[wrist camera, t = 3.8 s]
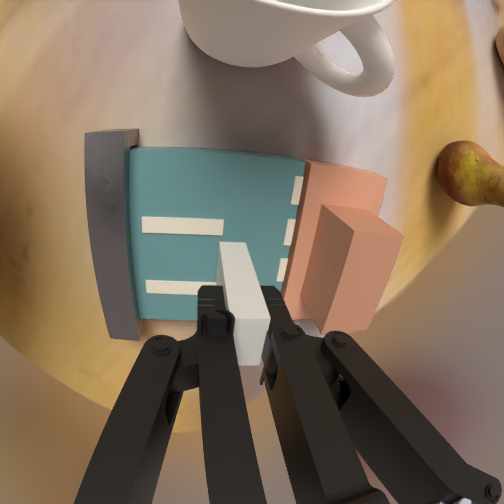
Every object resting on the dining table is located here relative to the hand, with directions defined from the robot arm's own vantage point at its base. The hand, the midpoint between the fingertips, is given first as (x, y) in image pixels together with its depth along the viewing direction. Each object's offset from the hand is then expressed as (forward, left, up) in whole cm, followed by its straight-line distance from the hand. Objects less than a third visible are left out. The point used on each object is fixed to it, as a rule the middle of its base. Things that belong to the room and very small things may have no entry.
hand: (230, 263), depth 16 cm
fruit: (+19, +9, -4) cm, 21 cm away
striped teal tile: (-2, 0, -4) cm, 4 cm away
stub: (+7, 0, -4) cm, 8 cm away
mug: (+1, +14, -4) cm, 15 cm away
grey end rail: (-7, 0, -4) cm, 8 cm away
